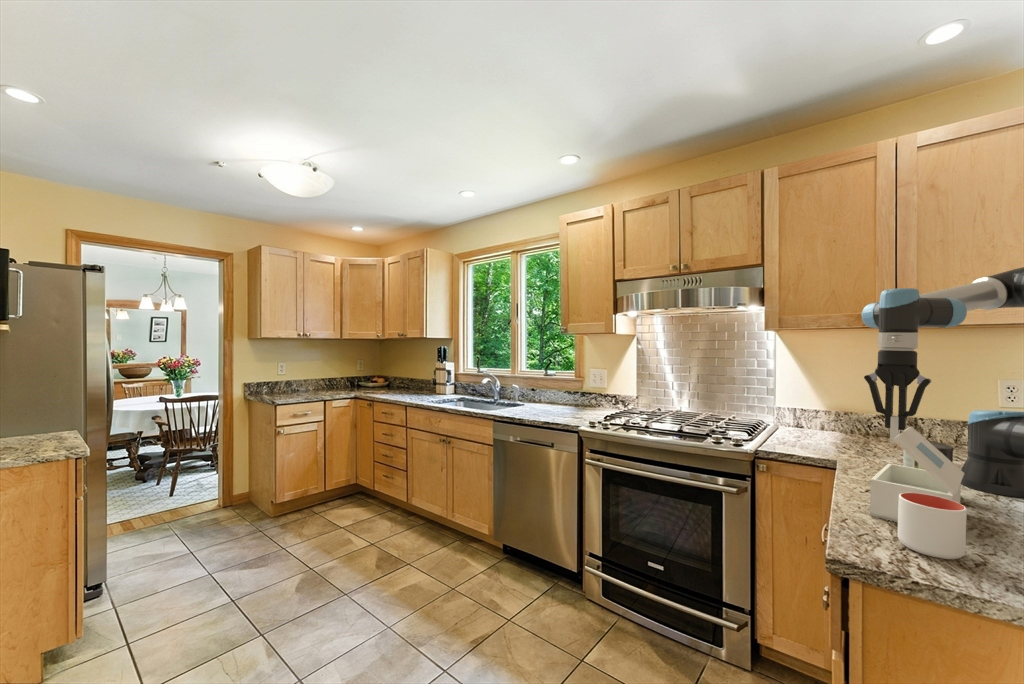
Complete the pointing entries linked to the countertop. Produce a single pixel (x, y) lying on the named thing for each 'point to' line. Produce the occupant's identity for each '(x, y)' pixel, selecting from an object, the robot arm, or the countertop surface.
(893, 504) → the box
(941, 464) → the lid
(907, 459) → the coffee can
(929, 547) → the cup
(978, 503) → the countertop surface
